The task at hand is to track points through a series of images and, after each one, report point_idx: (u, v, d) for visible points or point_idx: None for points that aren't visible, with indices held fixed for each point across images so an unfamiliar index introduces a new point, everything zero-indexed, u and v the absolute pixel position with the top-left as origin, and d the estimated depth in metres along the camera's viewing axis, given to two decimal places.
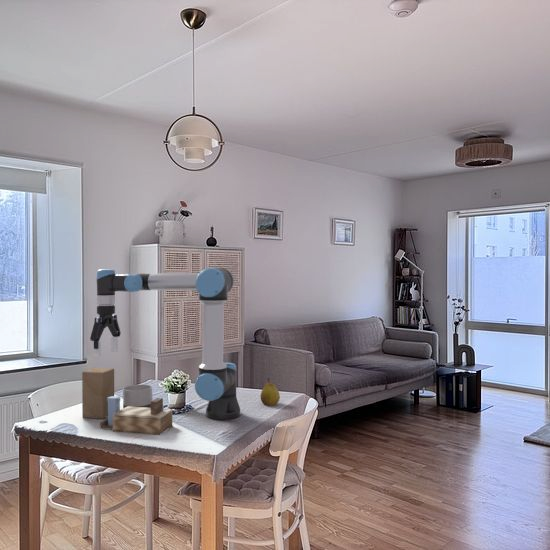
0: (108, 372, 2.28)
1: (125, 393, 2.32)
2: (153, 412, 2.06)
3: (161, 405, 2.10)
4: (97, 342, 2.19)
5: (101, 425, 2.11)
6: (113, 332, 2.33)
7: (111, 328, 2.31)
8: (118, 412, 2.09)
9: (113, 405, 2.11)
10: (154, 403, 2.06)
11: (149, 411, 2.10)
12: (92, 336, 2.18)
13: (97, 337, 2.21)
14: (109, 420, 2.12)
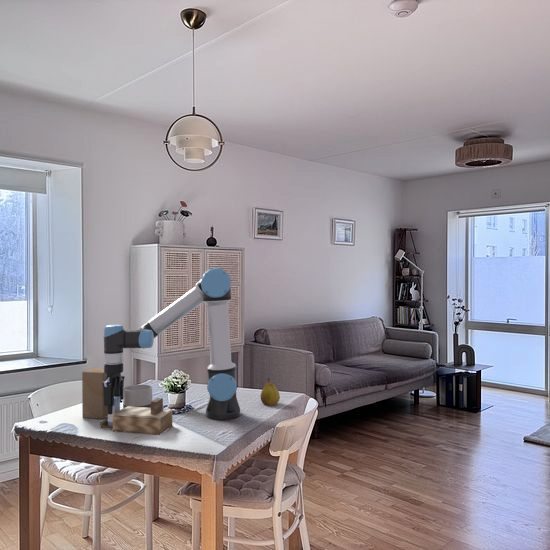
0: None
1: (125, 393, 2.32)
2: (153, 412, 2.06)
3: (161, 405, 2.10)
4: (111, 408, 2.10)
5: (101, 425, 2.11)
6: None
7: (116, 390, 2.15)
8: (118, 412, 2.09)
9: (113, 405, 2.11)
10: (154, 403, 2.06)
11: (149, 411, 2.10)
12: (105, 402, 2.08)
13: None
14: None
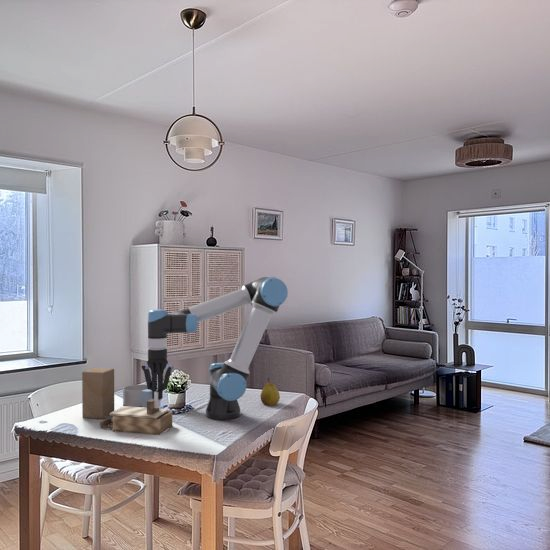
0: (108, 372, 2.28)
1: (125, 393, 2.32)
2: (149, 412, 2.06)
3: None
4: (153, 393, 2.08)
5: (101, 425, 2.11)
6: None
7: None
8: (114, 412, 2.09)
9: (147, 398, 2.23)
10: (150, 403, 2.06)
11: (145, 411, 2.10)
12: None
13: (155, 386, 2.09)
14: None
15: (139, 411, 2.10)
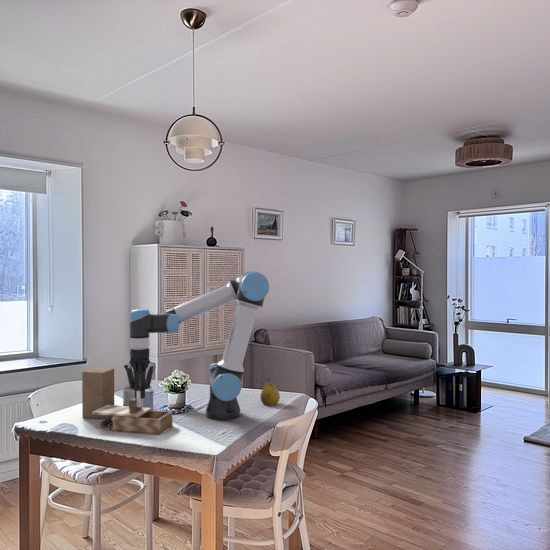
0: (108, 372, 2.28)
1: (125, 393, 2.32)
2: (131, 411, 2.08)
3: None
4: (135, 392, 2.10)
5: (101, 425, 2.11)
6: None
7: None
8: (97, 411, 2.11)
9: (147, 398, 2.23)
10: (132, 402, 2.08)
11: (128, 410, 2.12)
12: None
13: None
14: None
15: (122, 410, 2.12)
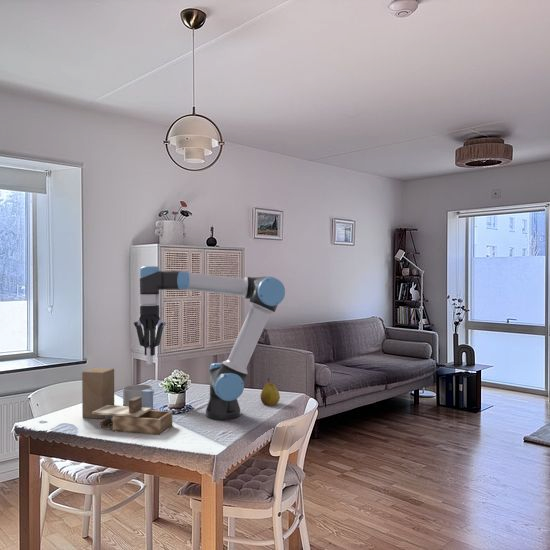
0: (108, 372, 2.28)
1: (125, 393, 2.32)
2: (131, 411, 2.08)
3: (140, 404, 2.12)
4: (145, 349, 2.09)
5: (101, 425, 2.11)
6: None
7: None
8: (97, 411, 2.11)
9: (147, 398, 2.23)
10: (132, 402, 2.08)
11: (128, 410, 2.12)
12: None
13: (147, 342, 2.09)
14: None
15: (121, 410, 2.12)
